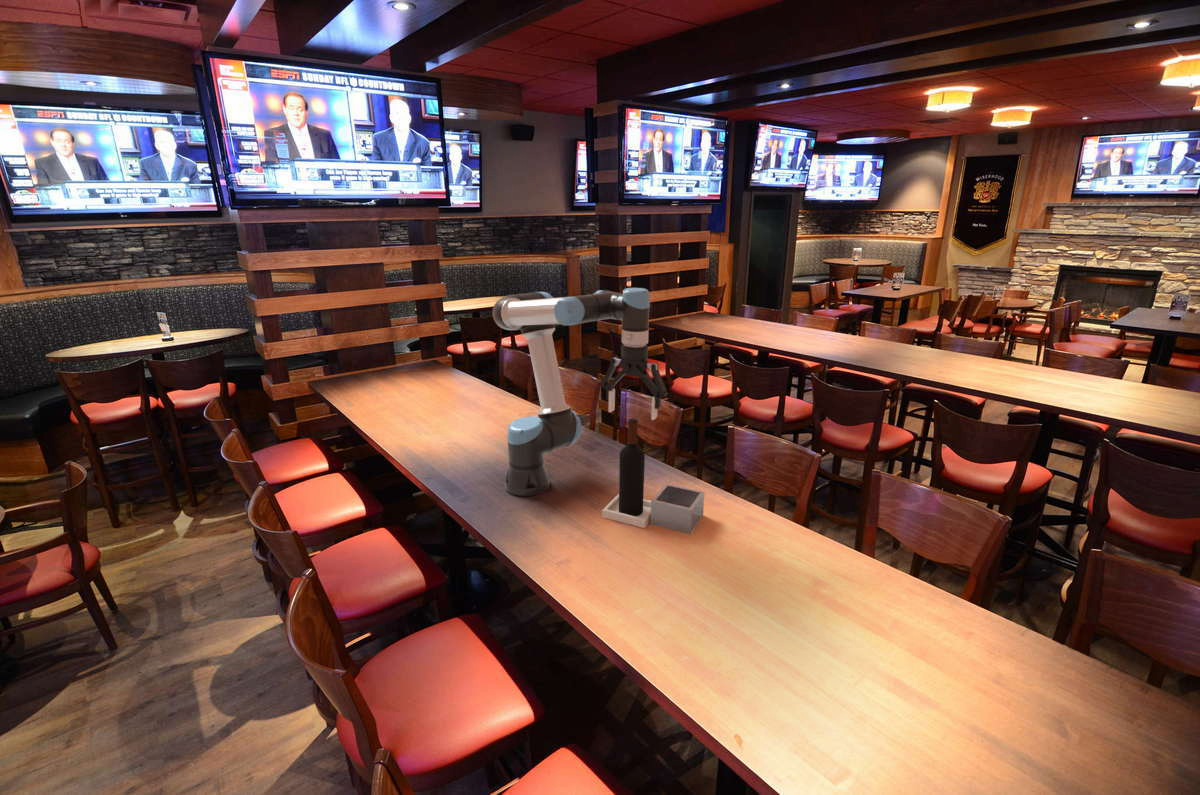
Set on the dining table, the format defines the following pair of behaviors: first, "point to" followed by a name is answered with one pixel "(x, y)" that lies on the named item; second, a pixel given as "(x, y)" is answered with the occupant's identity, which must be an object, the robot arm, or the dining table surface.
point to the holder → (677, 508)
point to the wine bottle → (631, 474)
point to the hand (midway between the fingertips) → (632, 414)
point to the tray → (613, 513)
